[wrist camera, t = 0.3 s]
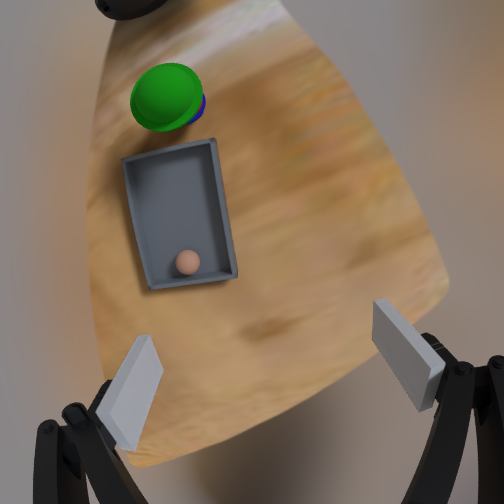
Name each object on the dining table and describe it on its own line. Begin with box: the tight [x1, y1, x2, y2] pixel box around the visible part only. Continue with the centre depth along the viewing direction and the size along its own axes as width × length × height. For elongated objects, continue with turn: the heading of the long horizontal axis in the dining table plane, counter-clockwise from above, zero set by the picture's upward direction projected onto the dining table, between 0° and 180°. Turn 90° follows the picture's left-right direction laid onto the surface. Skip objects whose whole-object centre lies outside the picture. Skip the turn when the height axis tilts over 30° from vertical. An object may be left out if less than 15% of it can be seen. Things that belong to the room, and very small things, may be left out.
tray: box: [121, 138, 238, 290], centre depth 39 cm, size 19×13×3 cm
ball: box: [175, 250, 200, 275], centre depth 40 cm, size 4×4×4 cm
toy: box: [130, 63, 206, 132], centre depth 30 cm, size 8×8×15 cm
